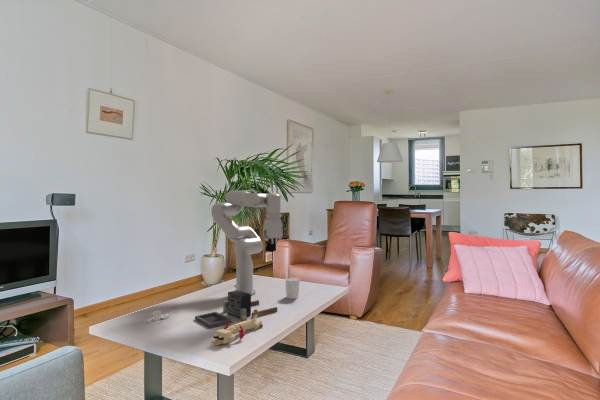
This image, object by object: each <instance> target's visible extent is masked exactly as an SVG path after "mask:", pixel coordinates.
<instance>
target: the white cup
mask: <svg viewBox="0 0 600 400" xmlns="http://www.w3.org/2000/svg"><path fill="white" fill-rule="evenodd" d="M300 280H301V279H300V278H297V277H288V278H285V294H286V298H287V299H291V300H292V299H293V300H294V299H298V298H299V292H300Z"/></svg>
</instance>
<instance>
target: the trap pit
mask: <svg viewBox="0 0 600 400" xmlns="http://www.w3.org/2000/svg"><path fill="white" fill-rule="evenodd" d="M194 319H195V320H194V321H197V322H199V323H200V324H202V325H204V326H205V327H208V328H209V329H214V328H217V327H221V326H225V325H227V324H228V323H230V322H232V318H229V317H228V316H226V315H224V314H221V313H220V312H218V311H212V312H207V313H203V314H199V315H195V316H194ZM232 323H233V322H232ZM230 324H231V323H230Z"/></svg>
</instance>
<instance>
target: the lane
mask: <svg viewBox="0 0 600 400" xmlns="http://www.w3.org/2000/svg"><path fill="white" fill-rule="evenodd" d="M258 305H260V300H259V299H257V300H251V307H255V306H258ZM222 307H223V309H222V311H223V312H222V313H227V314H228V300H223V303H222ZM277 312H278V307H277V306H275V307H270V308H267V309H266V308H265V309H262V310H258V313H259V315H258V317H259V318H260V317H262V316H265V315H270V314H273V313H277ZM254 315H255V313H254V312H251V317H252V319H253V317H254ZM258 317H257V318H258ZM239 319H240V321H241V322H243V321H247V309H245V308H242V309H240V318H239Z"/></svg>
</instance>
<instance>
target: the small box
mask: <svg viewBox="0 0 600 400" xmlns="http://www.w3.org/2000/svg"><path fill="white" fill-rule="evenodd" d="M227 301H228V312H227V314H228V315H230V316H232V317H235V318H238V319H240V309H242V308H245V309H247V317H252V312H251V311H252V306H251V302H252V295H251V294H249V293H246V292H242V291H239V290H237V291H235V290H233V291H228V292H227ZM247 317H246V318H247Z"/></svg>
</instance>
